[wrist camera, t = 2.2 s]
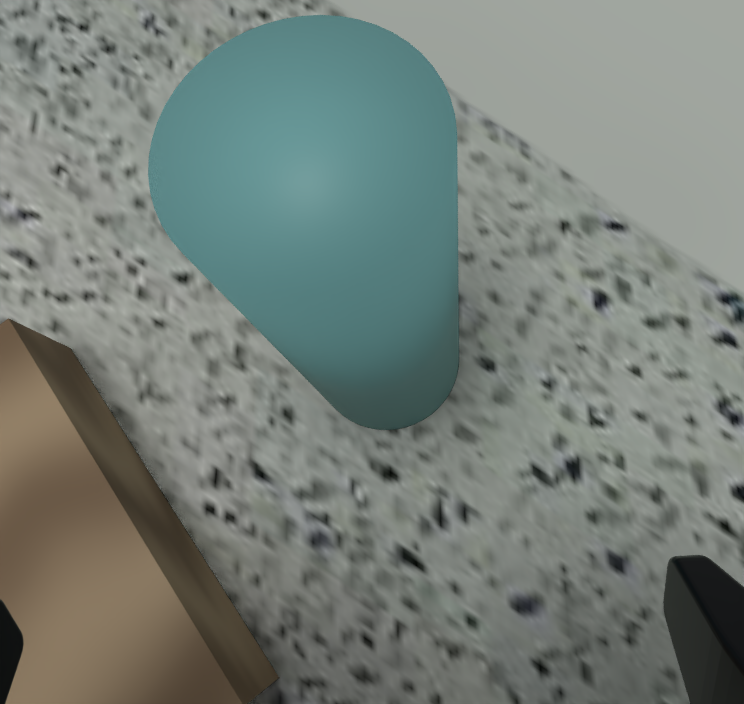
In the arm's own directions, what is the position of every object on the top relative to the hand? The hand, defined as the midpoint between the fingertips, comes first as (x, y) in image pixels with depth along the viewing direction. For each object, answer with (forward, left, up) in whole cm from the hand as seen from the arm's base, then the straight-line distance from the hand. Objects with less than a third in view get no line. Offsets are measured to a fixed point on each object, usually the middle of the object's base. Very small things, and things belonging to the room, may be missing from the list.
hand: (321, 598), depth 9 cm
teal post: (+6, -4, -13) cm, 14 cm away
